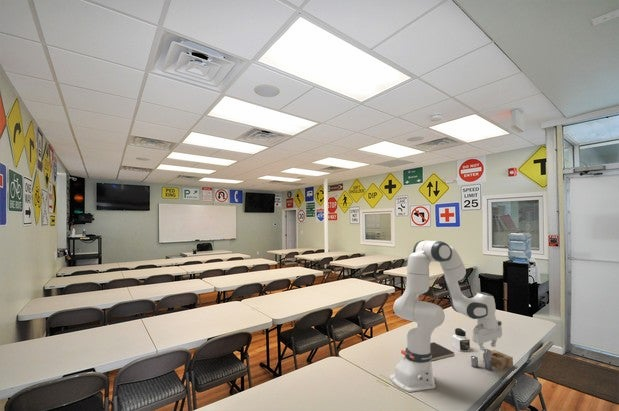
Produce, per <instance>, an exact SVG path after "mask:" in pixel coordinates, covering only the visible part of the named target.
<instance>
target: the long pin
mask: <svg viewBox="0 0 619 411" xmlns="http://www.w3.org/2000/svg"><path fill="white" fill-rule="evenodd" d="M491 351H492V350H491V349H488V348H485V350H484V352H483V353H484V356H485V363H484V370H486V371H488V372H489V371H490V372H491V371H493V366H492V358H491Z"/></svg>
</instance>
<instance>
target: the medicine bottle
mask: <svg viewBox="0 0 619 411" xmlns="http://www.w3.org/2000/svg"><path fill="white" fill-rule="evenodd" d="M454 332H455V334H453V335H452V336H451V341H452V342H451V344H452V348H455V350H457V351H459V352H468V351H470V350H471V347H470V346H471V344H470V342H471V341H470V340H471V339H470V338H469V337H467V330H465V329H464V328H460V327H458V328H455V329H454Z"/></svg>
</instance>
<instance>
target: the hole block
mask: <svg viewBox="0 0 619 411" xmlns="http://www.w3.org/2000/svg"><path fill="white" fill-rule="evenodd" d="M482 355H483V356H482V358H483V360H482V361H483V364H485V356H484V352H483V353H482ZM491 358H492V368H495V369H497V370H499V371H501V372H503V371H506V370H509V369H511V368H514V360H513V359H514V358H513V356H510V355H507V354H505V353H503V352H500V351H498V350H496V349H492V350H491Z"/></svg>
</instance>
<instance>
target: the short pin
mask: <svg viewBox="0 0 619 411" xmlns="http://www.w3.org/2000/svg"><path fill="white" fill-rule="evenodd" d="M470 359H471V360H470V363H471V365H470V366H471V367H472V368H474V369H478V368H479V358H478V356H476V355H471V356H470Z"/></svg>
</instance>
